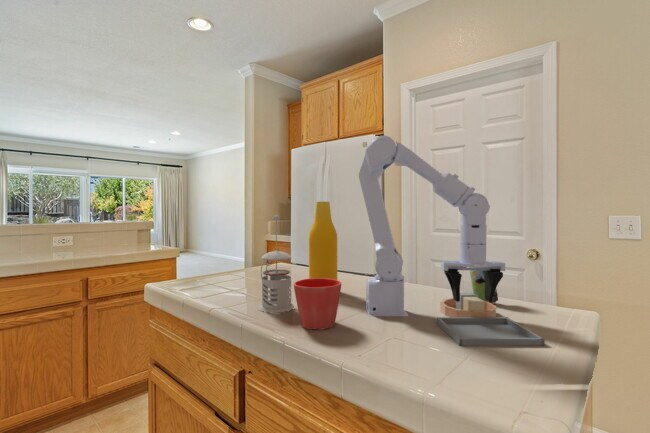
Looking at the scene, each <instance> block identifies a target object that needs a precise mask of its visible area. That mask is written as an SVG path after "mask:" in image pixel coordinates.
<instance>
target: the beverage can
mask: <svg viewBox="0 0 650 433" xmlns="http://www.w3.org/2000/svg"><path fill="white" fill-rule="evenodd" d="M468 268H475V267H468ZM469 275H470V281H471V286H472V293H474V294H476V295H477V298H479V299H481V300H483V301H485V302H489V301H487V300H485V281H484V274H483V270H469ZM497 301H499V296H498V290H497V288H496V289H495V292H494V295H493V299H492V302H489V303H491V304H493V305H495V304H496V303H497Z"/></svg>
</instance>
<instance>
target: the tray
mask: <svg viewBox="0 0 650 433" xmlns="http://www.w3.org/2000/svg"><path fill="white" fill-rule="evenodd" d="M436 324H437V325H438V326H439V327H440V328H441V329H442V330H443V331H444V332H445V333H446V334H447V335H448V336H449V337H450V338H451V339H452V340H453V341H454V342H455V343H456V344H457V345H458V346H459V347H484V346H485V347H486V346H487V347H499V346H500V347H507V346H508V347H513V346H514V347H516V346H517V347H522V346H523V347H525V346H526V347H530V346H531V347H534V346H535V347H536V346H537V347H538V346H539V347H541V346H542V347H544V346H545V345H546V344H545V343H546V342H545V338H543V337H542V336H540V335H538V334H537V333H535V332H534V331H531V330H530V329H528V328H527V327H524V326H523V325H521V324H519V323H518V322H516V321H514V320H513V319H511V318H510V317H505V316H504V317H503V316H502V317H500V316H499V317H497V316H496V317H448V316H445V317H441V316H440V317H436Z"/></svg>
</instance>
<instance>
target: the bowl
mask: <svg viewBox="0 0 650 433" xmlns="http://www.w3.org/2000/svg"><path fill="white" fill-rule="evenodd" d="M439 307H440V313H441V314H443V315H444V316H445V317H497V305H495V304H491V303H489V302H485V301H484V311H467V310H460V309H456V301H455V300H454V299H453V297H450V298H445V299H444V298H443V299H442V300H441V302H440V306H439Z"/></svg>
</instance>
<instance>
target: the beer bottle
mask: <svg viewBox="0 0 650 433" xmlns="http://www.w3.org/2000/svg"><path fill="white" fill-rule="evenodd" d="M330 205H331V204H330V201H316V203H315V212H314V220H313V223H312V226H311V228H310V231H309V233H308V279H312V278H326V279H334V280H338V233H337V230H336V228H335V225H334V223H333V221H332V214H331V206H330Z"/></svg>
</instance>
